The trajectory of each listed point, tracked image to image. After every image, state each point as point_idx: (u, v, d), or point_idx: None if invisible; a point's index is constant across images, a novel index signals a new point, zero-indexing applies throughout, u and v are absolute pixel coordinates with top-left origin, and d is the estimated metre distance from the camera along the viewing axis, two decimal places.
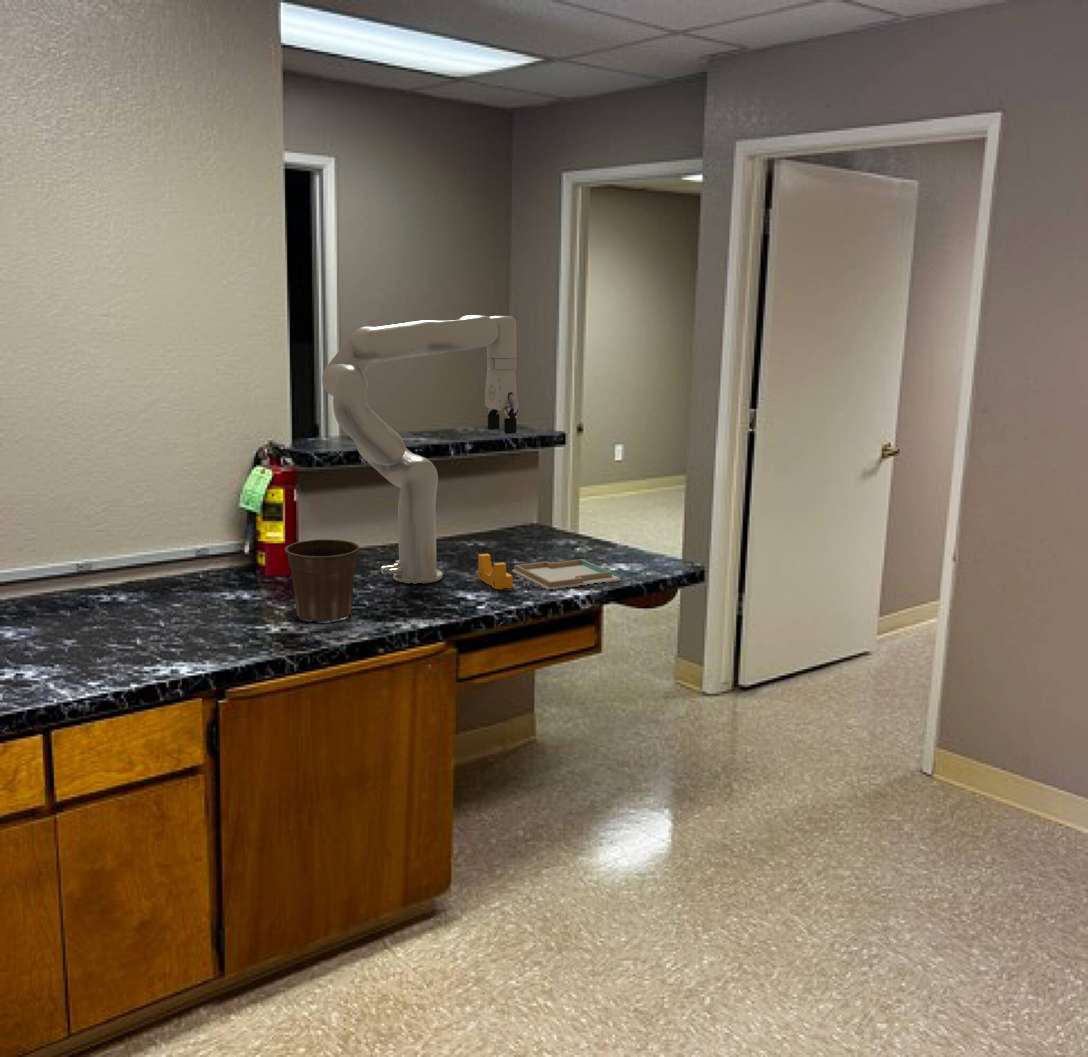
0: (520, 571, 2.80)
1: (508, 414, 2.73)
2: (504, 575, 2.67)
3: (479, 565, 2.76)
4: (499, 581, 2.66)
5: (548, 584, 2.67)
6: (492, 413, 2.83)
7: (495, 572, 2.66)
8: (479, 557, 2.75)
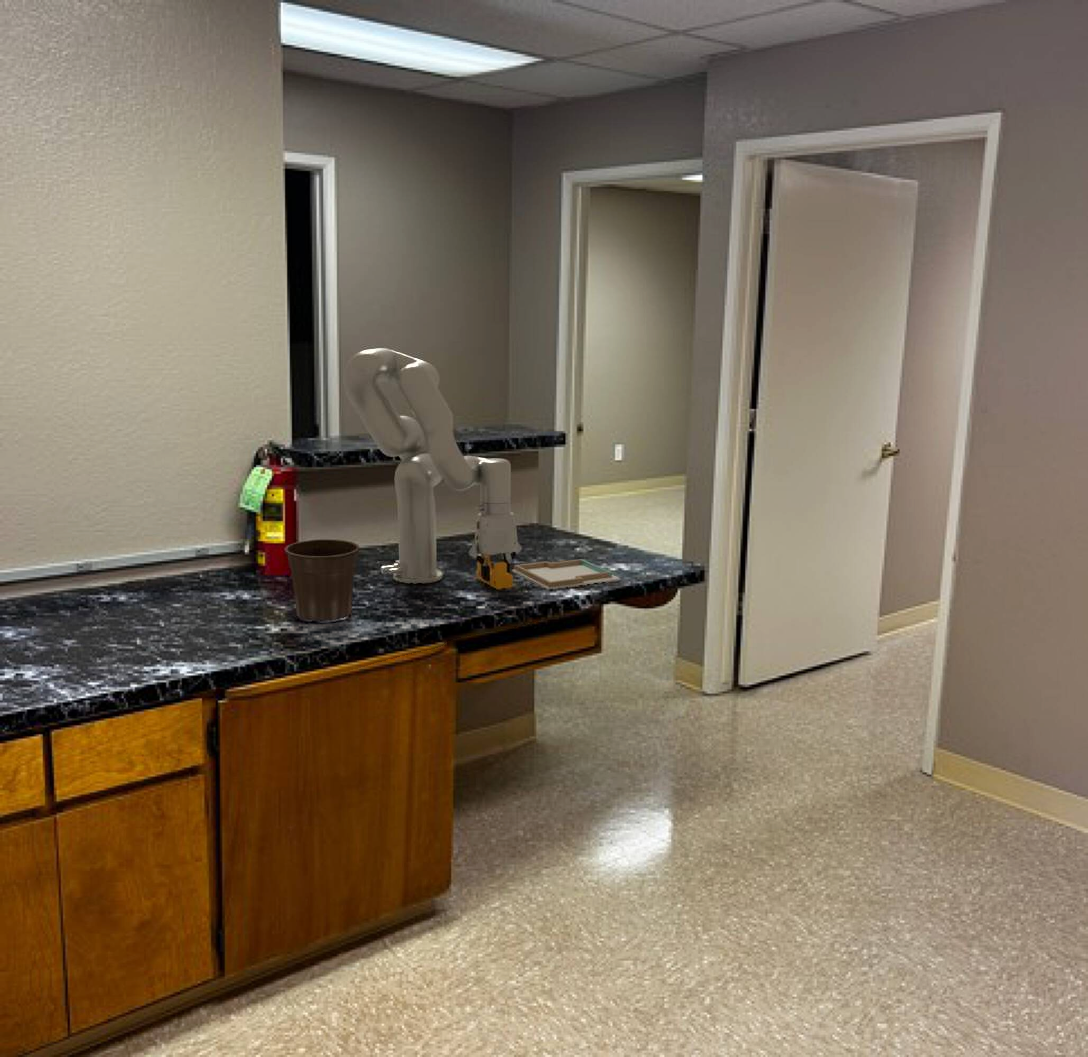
0: (520, 571, 2.80)
1: None
2: (505, 575, 2.67)
3: (478, 565, 2.76)
4: (500, 581, 2.67)
5: (548, 584, 2.67)
6: None
7: (496, 572, 2.66)
8: None
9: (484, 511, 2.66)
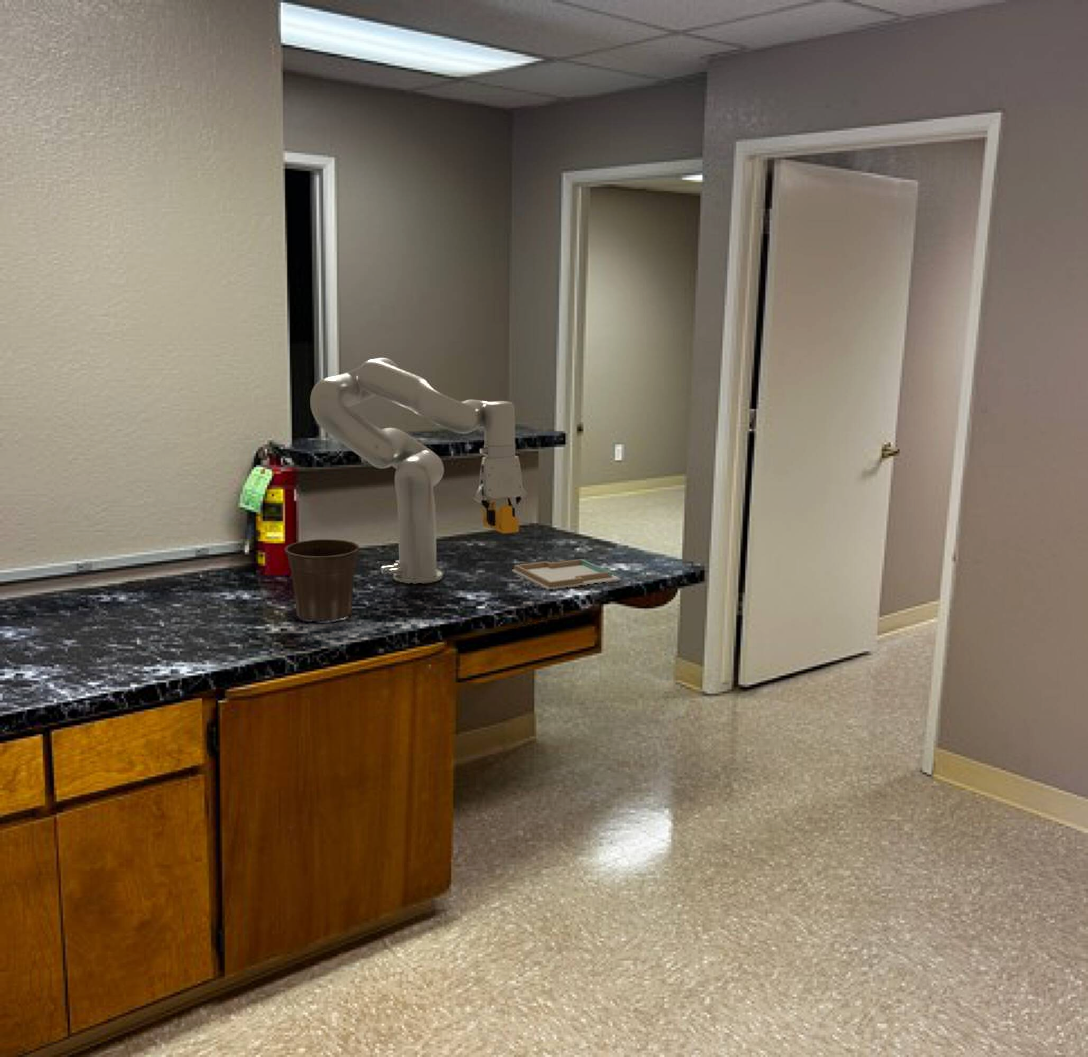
0: (520, 571, 2.80)
1: (515, 503, 2.69)
2: (510, 518, 2.64)
3: (484, 510, 2.73)
4: (505, 524, 2.64)
5: (548, 584, 2.67)
6: None
7: (502, 515, 2.63)
8: None
9: (488, 454, 2.63)
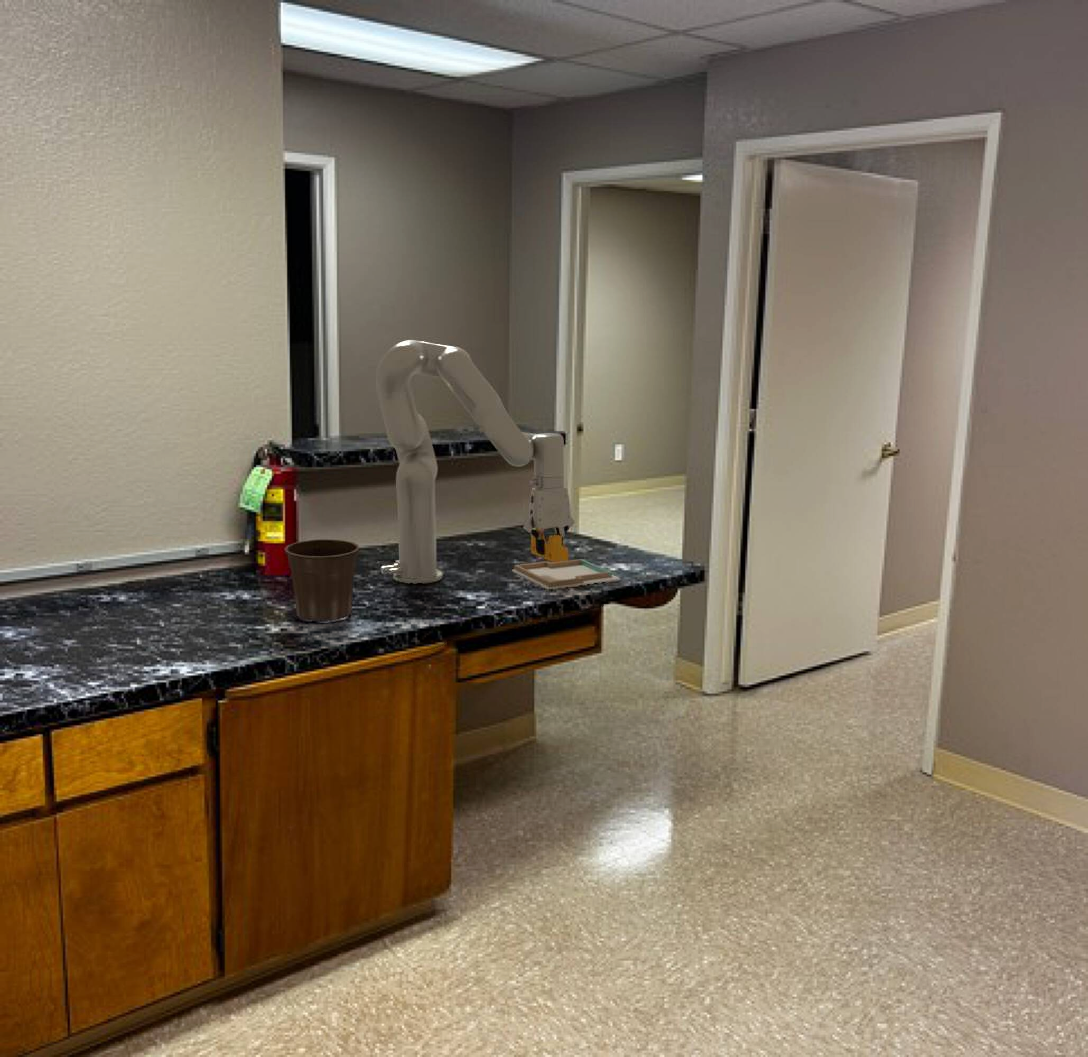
0: (520, 571, 2.80)
1: None
2: (560, 547, 2.70)
3: (532, 539, 2.79)
4: (555, 553, 2.70)
5: (548, 584, 2.67)
6: None
7: (552, 545, 2.69)
8: None
9: (538, 485, 2.69)
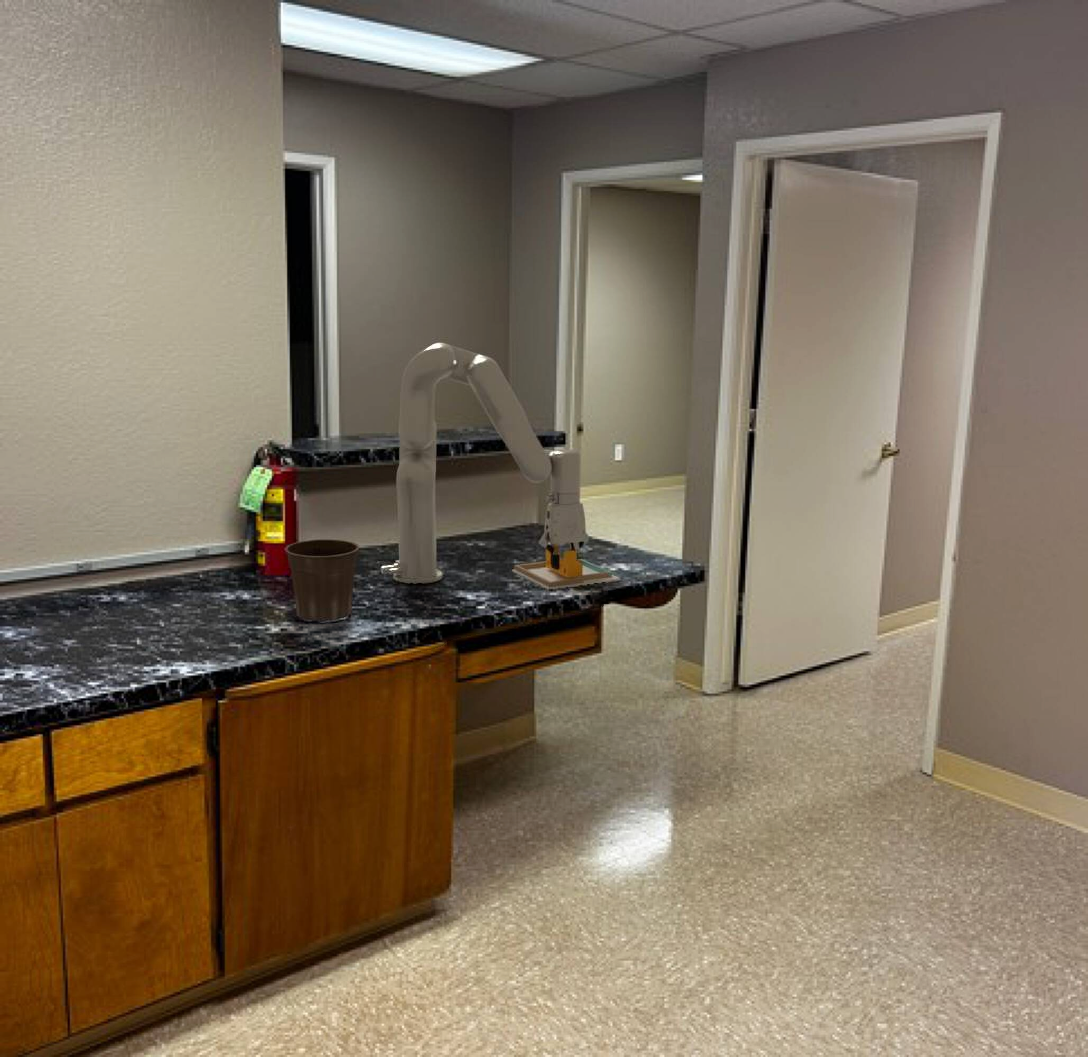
0: (520, 571, 2.80)
1: (578, 548, 2.79)
2: (575, 563, 2.73)
3: (547, 553, 2.82)
4: (570, 569, 2.73)
5: (548, 584, 2.67)
6: None
7: (567, 560, 2.73)
8: None
9: (554, 501, 2.73)
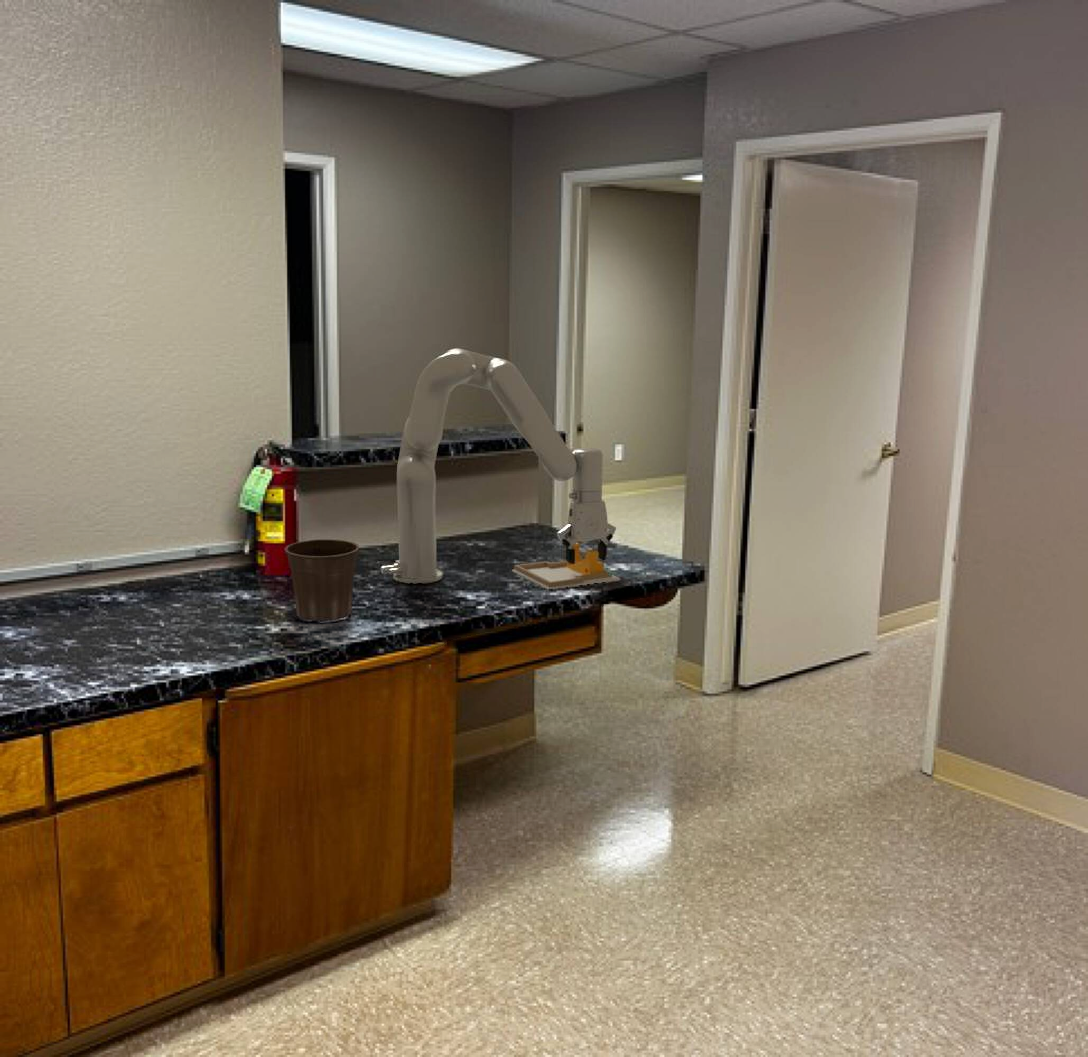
0: (520, 571, 2.80)
1: (607, 540, 2.83)
2: (596, 563, 2.77)
3: None
4: (592, 568, 2.76)
5: (548, 584, 2.67)
6: None
7: (588, 560, 2.76)
8: None
9: (577, 499, 2.76)
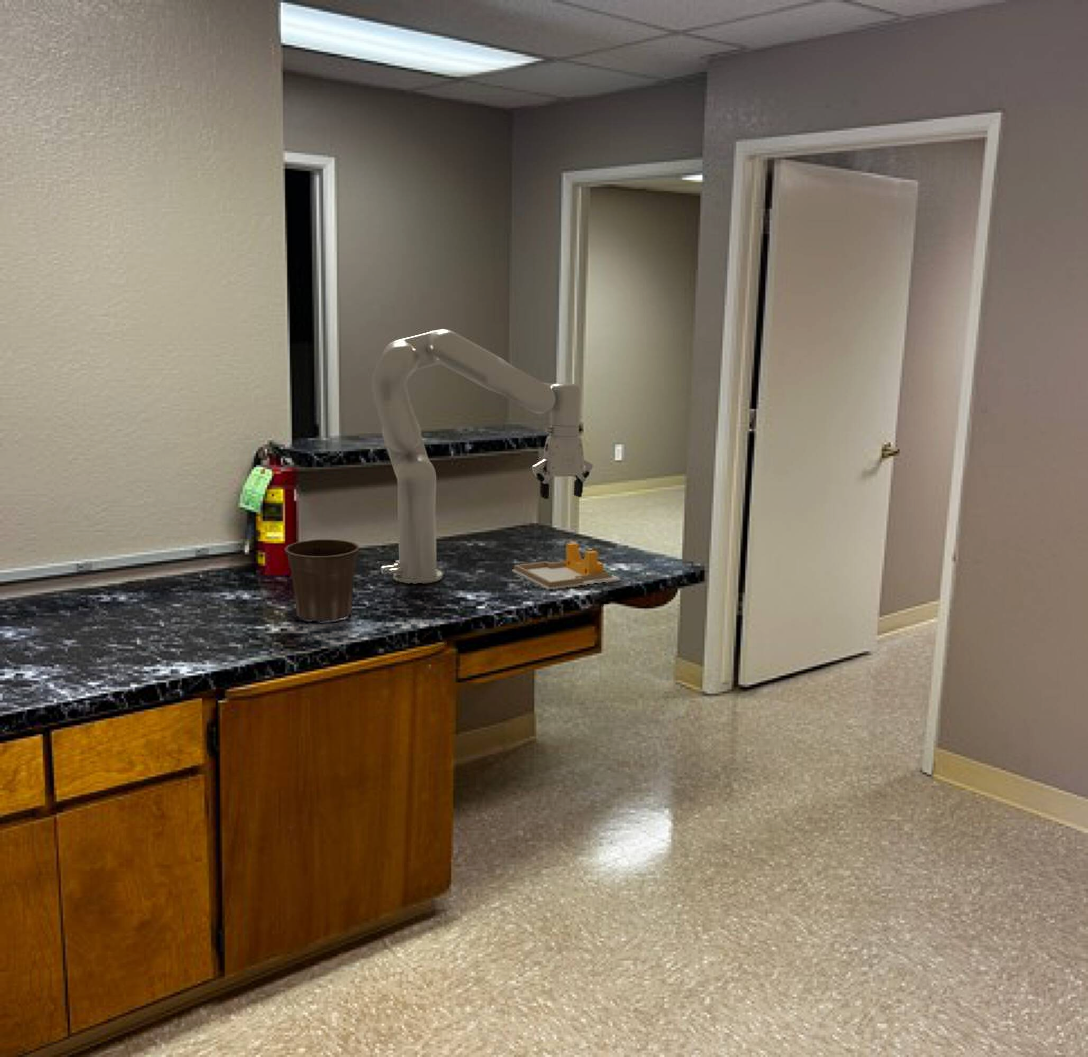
0: (520, 571, 2.80)
1: (584, 477, 2.81)
2: (596, 563, 2.76)
3: (567, 554, 2.85)
4: (591, 569, 2.76)
5: (548, 584, 2.67)
6: None
7: (588, 560, 2.76)
8: (567, 546, 2.85)
9: (553, 433, 2.74)
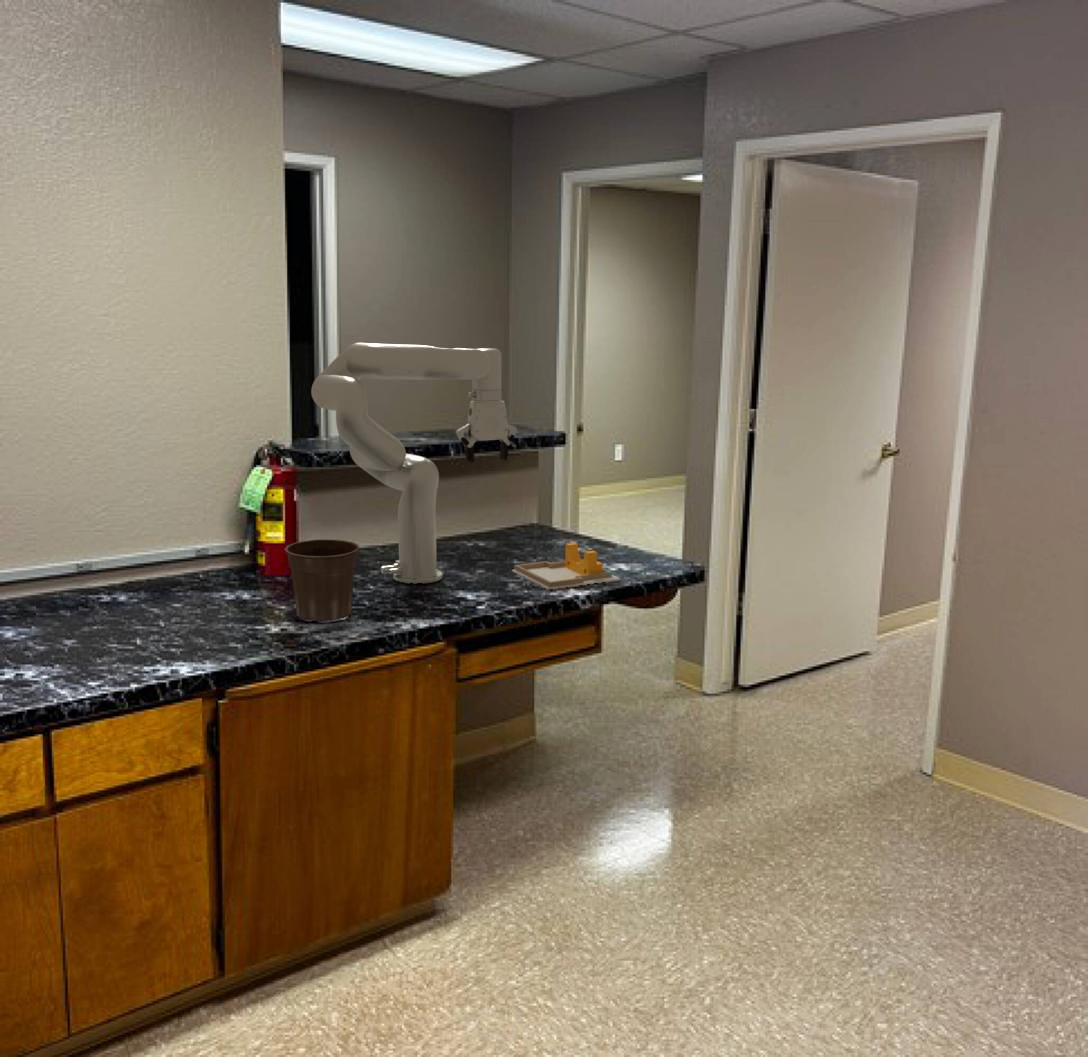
0: (520, 571, 2.80)
1: (509, 441, 2.86)
2: (595, 563, 2.76)
3: (567, 554, 2.85)
4: (590, 569, 2.76)
5: (548, 584, 2.67)
6: None
7: (587, 560, 2.75)
8: (567, 546, 2.84)
9: (476, 398, 2.79)
